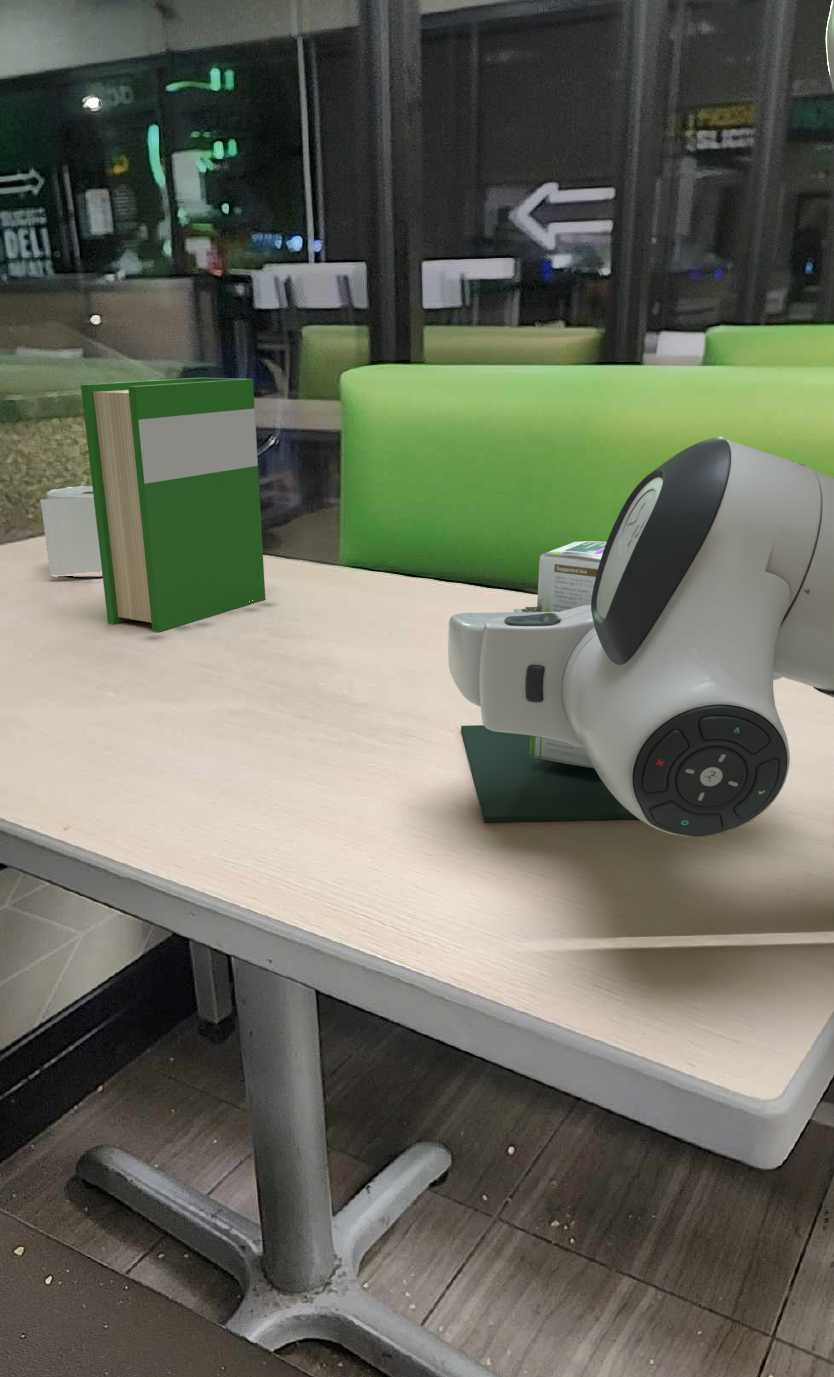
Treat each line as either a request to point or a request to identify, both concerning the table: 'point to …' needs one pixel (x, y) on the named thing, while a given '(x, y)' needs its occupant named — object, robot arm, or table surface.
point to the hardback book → (175, 497)
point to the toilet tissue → (71, 531)
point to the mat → (533, 782)
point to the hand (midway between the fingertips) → (587, 619)
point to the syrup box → (562, 589)
